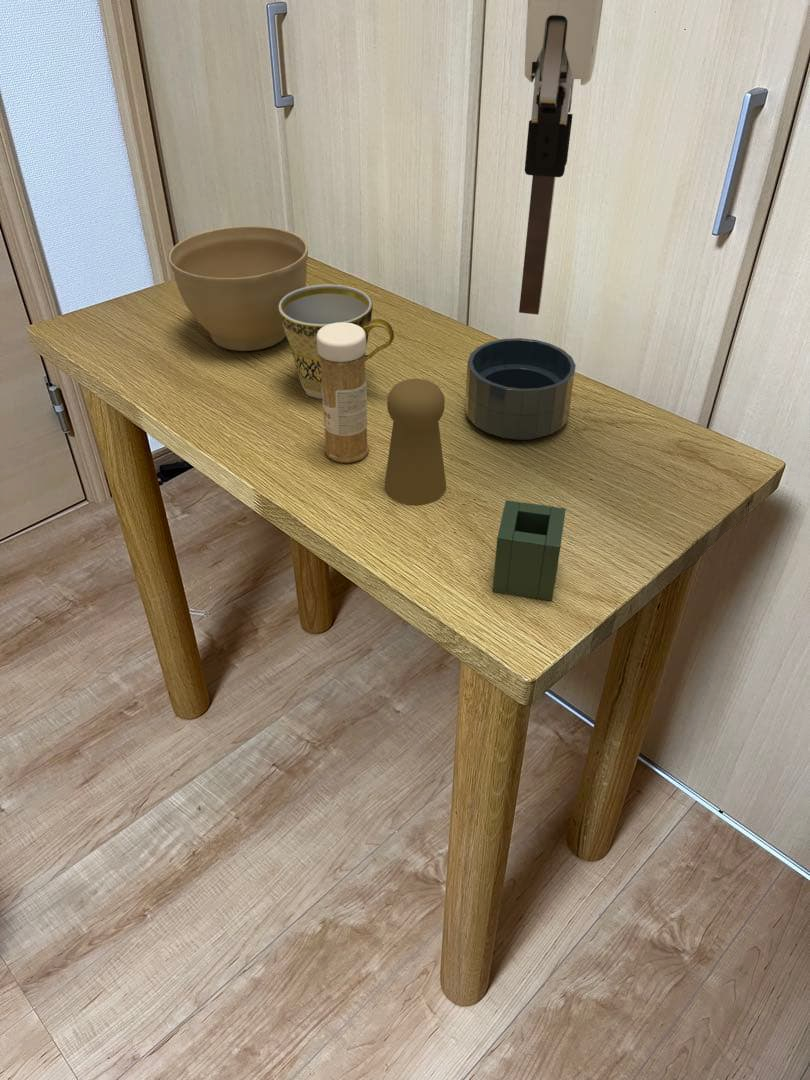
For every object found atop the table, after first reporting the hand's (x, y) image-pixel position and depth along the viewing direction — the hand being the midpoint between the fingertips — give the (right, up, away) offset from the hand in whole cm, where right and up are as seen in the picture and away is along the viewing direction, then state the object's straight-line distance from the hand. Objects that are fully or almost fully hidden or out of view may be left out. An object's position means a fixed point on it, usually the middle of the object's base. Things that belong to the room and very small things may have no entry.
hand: (545, 168), depth 70 cm
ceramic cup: (-19, -14, +26) cm, 35 cm away
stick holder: (-1, -34, +2) cm, 34 cm away
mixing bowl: (0, -17, +22) cm, 28 cm away
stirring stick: (0, -9, +8) cm, 13 cm away
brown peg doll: (-11, -26, +12) cm, 30 cm away
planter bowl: (-31, -5, +36) cm, 48 cm away
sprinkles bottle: (-18, -22, +17) cm, 33 cm away
